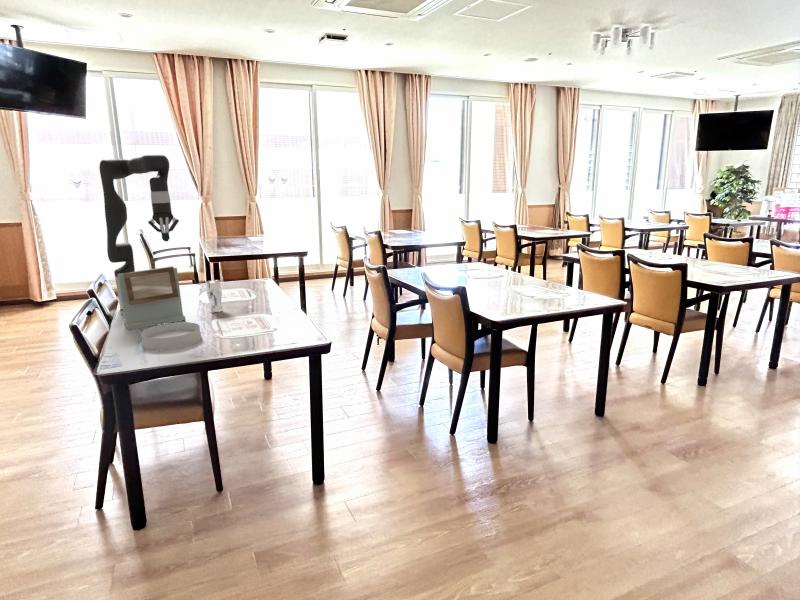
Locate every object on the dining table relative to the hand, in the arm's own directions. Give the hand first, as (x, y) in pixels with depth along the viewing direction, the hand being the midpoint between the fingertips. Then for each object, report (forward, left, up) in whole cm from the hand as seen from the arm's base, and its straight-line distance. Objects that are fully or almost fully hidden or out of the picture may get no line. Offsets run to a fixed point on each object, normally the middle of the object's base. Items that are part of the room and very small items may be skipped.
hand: (166, 241), depth 229 cm
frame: (+2, -8, -26) cm, 27 cm away
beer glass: (-4, +19, -37) cm, 42 cm away
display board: (-2, -9, -37) cm, 38 cm away
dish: (+33, -8, -37) cm, 50 cm away
